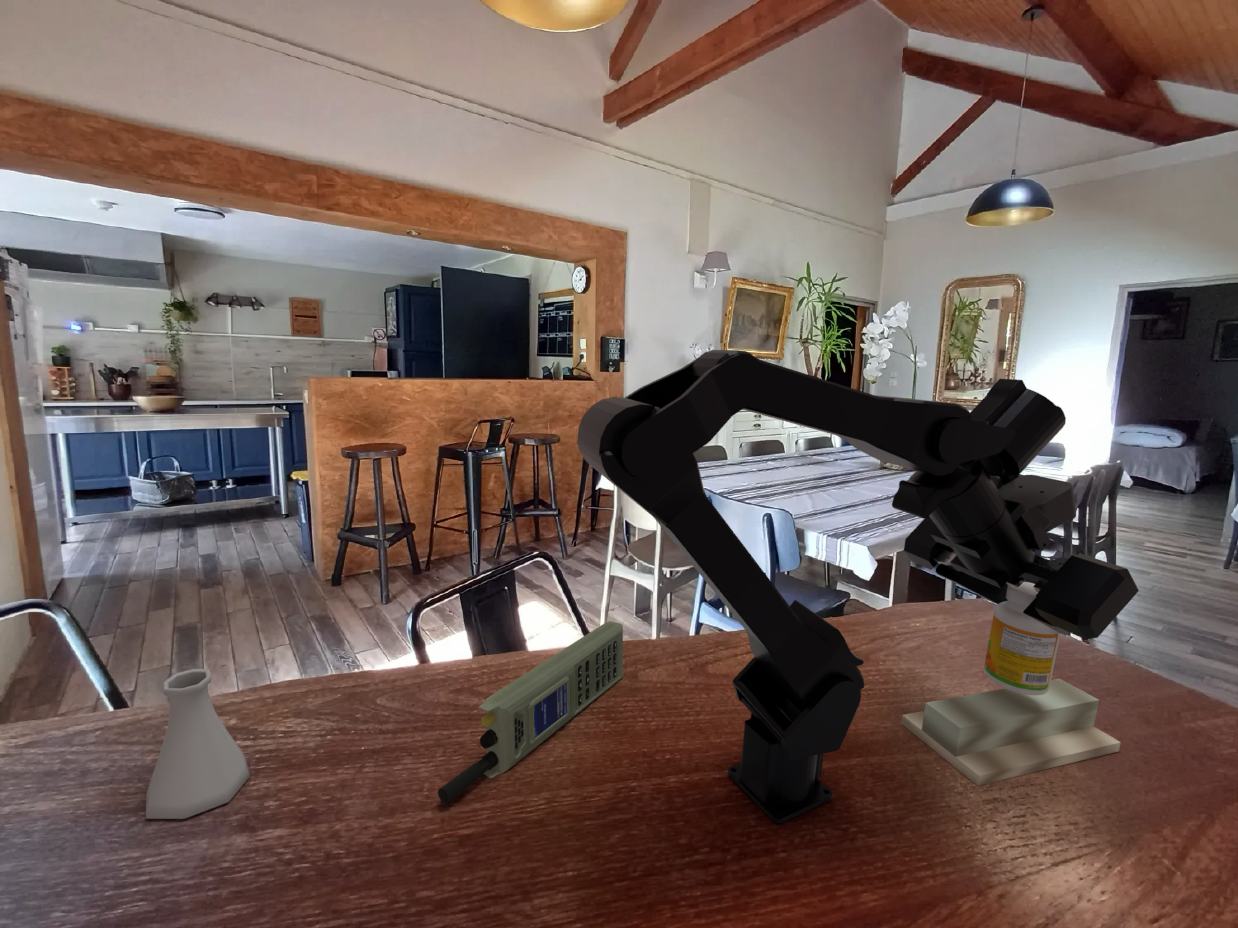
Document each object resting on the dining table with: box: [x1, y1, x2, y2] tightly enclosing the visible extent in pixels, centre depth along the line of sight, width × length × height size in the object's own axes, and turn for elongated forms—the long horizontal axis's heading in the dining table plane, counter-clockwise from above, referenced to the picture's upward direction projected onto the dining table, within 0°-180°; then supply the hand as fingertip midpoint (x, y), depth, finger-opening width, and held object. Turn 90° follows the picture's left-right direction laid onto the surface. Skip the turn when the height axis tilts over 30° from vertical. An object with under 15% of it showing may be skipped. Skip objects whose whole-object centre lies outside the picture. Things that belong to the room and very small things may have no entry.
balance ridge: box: [900, 678, 1121, 787], centre depth 58 cm, size 18×9×4 cm, turn 107°
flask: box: [145, 668, 251, 820], centre depth 47 cm, size 7×7×10 cm
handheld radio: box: [437, 620, 624, 805], centre depth 56 cm, size 7×3×25 cm
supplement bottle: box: [983, 581, 1062, 695], centre depth 56 cm, size 5×5×10 cm
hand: (1037, 617), depth 56 cm, fingers closed on supplement bottle, 5 cm apart
